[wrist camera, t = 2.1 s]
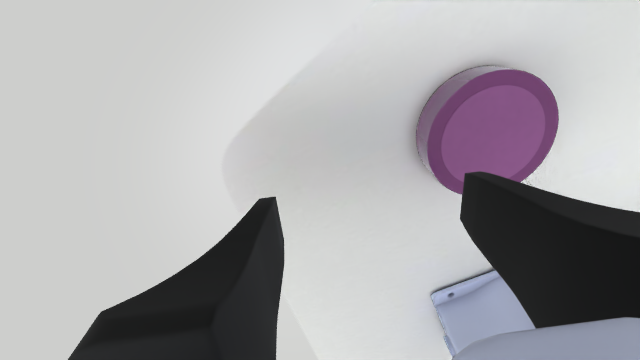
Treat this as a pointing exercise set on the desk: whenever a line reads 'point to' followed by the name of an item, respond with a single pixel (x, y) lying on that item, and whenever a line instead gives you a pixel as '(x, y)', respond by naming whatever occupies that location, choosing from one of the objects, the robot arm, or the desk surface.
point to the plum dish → (487, 125)
